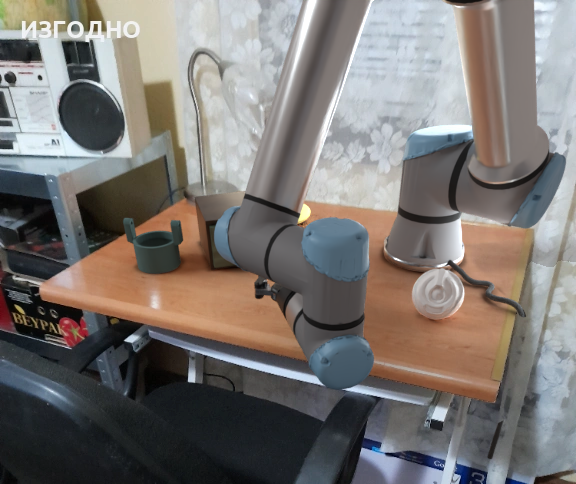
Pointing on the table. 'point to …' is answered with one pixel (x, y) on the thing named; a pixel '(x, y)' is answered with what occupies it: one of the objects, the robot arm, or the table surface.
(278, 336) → the table surface
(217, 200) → the case
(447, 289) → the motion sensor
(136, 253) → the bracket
